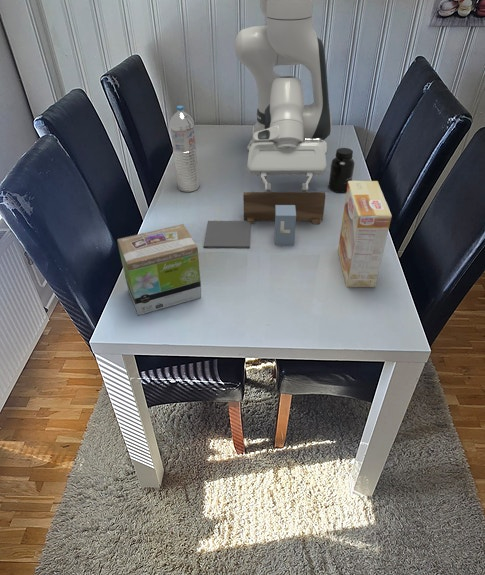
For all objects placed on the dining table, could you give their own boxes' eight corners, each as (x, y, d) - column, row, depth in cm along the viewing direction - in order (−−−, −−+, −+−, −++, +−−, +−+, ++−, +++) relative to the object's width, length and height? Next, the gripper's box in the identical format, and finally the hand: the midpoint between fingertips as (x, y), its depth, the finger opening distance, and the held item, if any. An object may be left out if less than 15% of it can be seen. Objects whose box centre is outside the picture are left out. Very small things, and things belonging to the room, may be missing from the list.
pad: (208, 222, 125) (207, 220, 124) (250, 222, 124) (250, 220, 124) (203, 247, 116) (203, 246, 115) (249, 248, 115) (249, 246, 115)
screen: (244, 214, 128) (243, 189, 122) (321, 214, 127) (324, 189, 122) (243, 223, 124) (243, 198, 119) (323, 224, 123) (326, 198, 118)
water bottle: (190, 180, 144) (181, 100, 127) (204, 187, 140) (197, 106, 124) (173, 187, 140) (162, 106, 124) (187, 195, 136) (177, 112, 120)
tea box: (138, 318, 97) (125, 264, 87) (128, 290, 104) (114, 237, 94) (203, 298, 101) (197, 245, 91) (189, 273, 108) (182, 221, 98)
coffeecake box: (336, 249, 114) (347, 180, 101) (364, 249, 114) (378, 179, 101) (345, 287, 103) (357, 215, 90) (376, 288, 103) (393, 215, 90)
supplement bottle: (350, 194, 135) (356, 156, 127) (327, 192, 136) (332, 155, 128) (350, 183, 140) (356, 146, 132) (328, 181, 141) (333, 145, 133)
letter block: (274, 234, 120) (275, 205, 114) (293, 234, 120) (295, 205, 114) (274, 245, 116) (275, 215, 110) (294, 245, 116) (296, 215, 110)
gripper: (325, 143, 118) (325, 194, 117) (248, 143, 119) (247, 194, 117) (329, 132, 111) (329, 187, 110) (247, 133, 112) (246, 187, 111)
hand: (286, 190), depth 114 cm, fingers open, 8 cm apart
